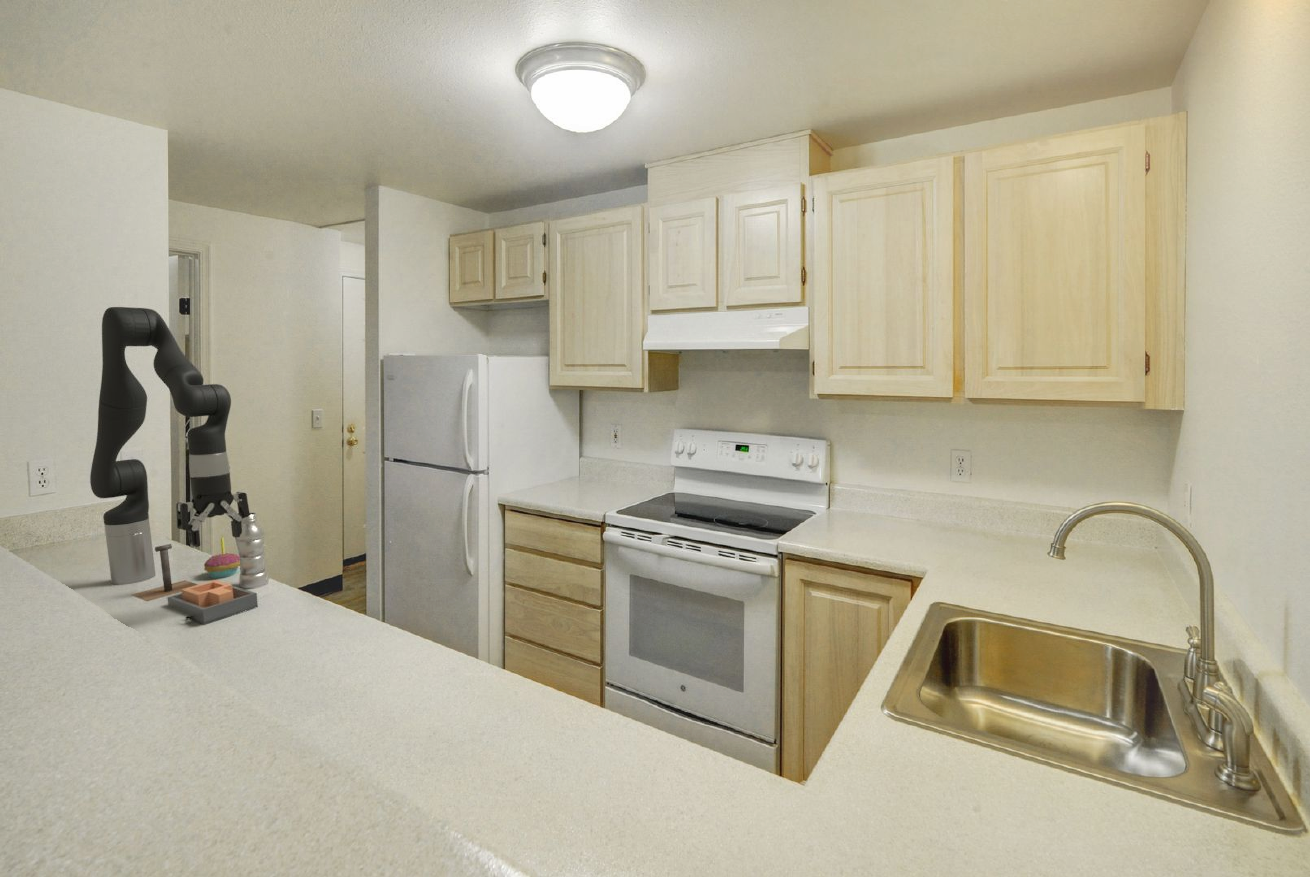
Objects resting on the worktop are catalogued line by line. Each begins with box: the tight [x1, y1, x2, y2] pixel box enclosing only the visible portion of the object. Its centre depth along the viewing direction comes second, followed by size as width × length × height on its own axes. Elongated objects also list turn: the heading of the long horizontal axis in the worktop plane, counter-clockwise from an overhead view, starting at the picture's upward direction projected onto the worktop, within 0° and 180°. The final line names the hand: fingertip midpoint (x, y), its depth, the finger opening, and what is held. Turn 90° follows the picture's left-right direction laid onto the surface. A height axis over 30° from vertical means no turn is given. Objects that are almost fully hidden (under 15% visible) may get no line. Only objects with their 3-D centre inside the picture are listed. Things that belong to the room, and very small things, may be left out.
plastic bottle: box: [234, 512, 270, 590], centre depth 167 cm, size 6×7×20 cm
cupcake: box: [203, 534, 240, 579], centre depth 176 cm, size 9×8×12 cm
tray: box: [166, 585, 259, 626], centre depth 155 cm, size 16×12×4 cm
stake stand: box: [131, 543, 199, 602], centre depth 164 cm, size 9×12×13 cm
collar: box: [181, 579, 235, 608], centre depth 155 cm, size 12×8×4 cm, turn 60°
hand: (216, 541), depth 151 cm, fingers open, 8 cm apart
